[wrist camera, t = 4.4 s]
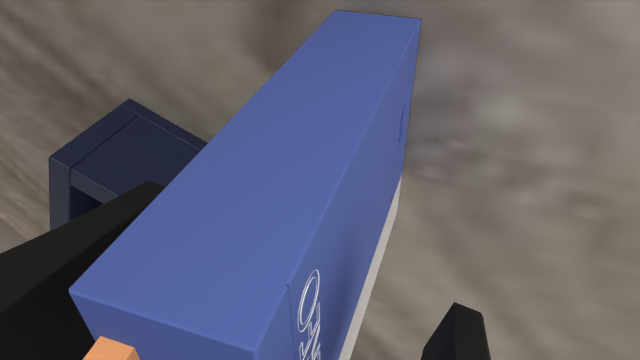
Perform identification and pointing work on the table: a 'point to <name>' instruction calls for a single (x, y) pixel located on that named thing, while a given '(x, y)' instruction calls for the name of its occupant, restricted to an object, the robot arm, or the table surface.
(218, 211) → the walkman
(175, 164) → the holder
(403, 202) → the table surface
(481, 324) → the robot arm
